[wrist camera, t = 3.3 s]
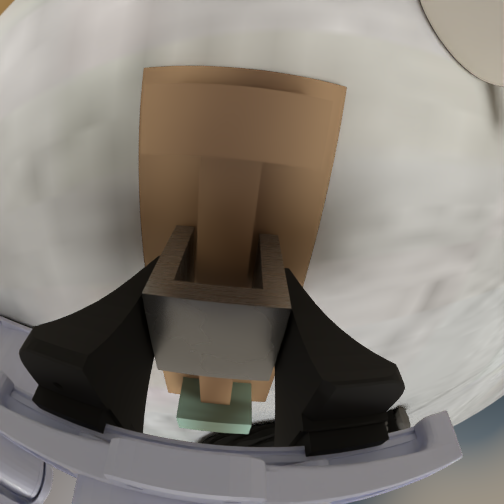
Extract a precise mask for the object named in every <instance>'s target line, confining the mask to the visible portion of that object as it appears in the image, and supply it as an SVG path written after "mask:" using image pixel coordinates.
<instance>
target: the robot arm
mask: <svg viewBox="0 0 504 504" xmlns="http://www.w3.org/2000/svg"><path fill="white" fill-rule="evenodd" d="M159 257H160V256H158V257H156V258H155V259H154V260H153V261H151V262H150V263H149V264H148V265H147V266H146V267H144V268H143V269H142V270H141V271H139V272H138V273H137V274H136V275H135V276H133V277H132V278H131V279H129V280H128V281H127V282H125V283H124V284H123V285H121V286H120V287H119V288H117V289H116V290H115V291H113V292H112V293H110V294H109V295H107V296H105V297H104V298H102V299H100V300H99V301H97V302H95V303H93V304H91V305H89V306H87V307H85V308H83V309H82V310H80V311H77V312H75V313H73V314H71V315H68V316H66V317H63V318H60V319H58V320H55V321H52V322H48V323H45V324H42V325H38V326H34V327H33V329H32V328H29V327H26V326H24V325H21V324H19V323H16V322H14V321H11V320H9V319H6V318H4V317H2V316H0V504H43V502H44V501H45V499H46V498H47V497H48V495H49V493H50V491H51V488H52V482H53V467H55V468H57V469H58V470H61V471H62V472H65V473H67V474H69V475H71V476H73V477H75V478H77V481H76V485H75V490H74V496H73V500H72V504H346V503H350V502H354V501H359V500H362V499H366V498H370V497H373V496H376V495H380V494H383V493H386V492H389V491H392V490H395V489H398V488H400V487H403V486H406V485H408V484H411V483H413V482H416V481H418V480H421V479H423V478H425V477H428V476H430V475H431V474H434V473H436V472H438V471H440V470H441V469H443V468H445V467H447V466H449V465H450V464H452V463H454V462H456V461H457V460H459V459H461V458H462V456H463V455H462V452H461V449H460V446H459V443H458V440H457V437H456V434H455V431H454V428H453V425H452V423H451V420H450V417H449V415H448V412H447V411H442V412H439V413H436V414H433V415H430V416H427V417H425V418H423V419H422V420H420V421H419V422H418V423H417V424H416V425H415V426H414V427H411V428H407V429H403V430H399V431H396V432H391V433H388V431H387V428H386V424H385V422H386V421H388V415H387V412H386V411H387V410H388V409H389V408H390V407H391V406H392V405H393V404H394V403H395V402H396V401H397V400H398V399H399V398H400V397H401V395H402V394H403V392H404V389H405V386H404V382H403V380H402V377H401V375H400V372H399V370H398V368H397V366H396V364H394V363H392V362H390V361H388V360H386V359H384V358H383V357H381V356H379V355H377V354H375V353H374V352H372V351H370V350H369V349H367V348H366V347H364V346H363V345H361V344H360V343H358V342H357V341H355V340H354V339H353V338H351V337H350V336H349V335H348V334H346V333H345V332H344V331H343V330H341V329H340V328H339V327H338V326H337V325H336V324H335V323H334V322H333V321H332V320H330V319H329V318H328V317H327V316H326V315H325V314H324V313H323V311H322V310H321V309H320V308H319V307H318V306H317V305H316V304H315V302H314V301H313V300H312V299H311V298H310V296H309V295H308V294H307V292H306V291H305V290H304V288H303V287H302V286H301V284H300V283H299V282H298V280H297V279H296V277H295V276H294V274H293V273H292V272H291V270H290V269H289V268H284V269H285V275H286V280H287V286H288V291H289V297H290V303H291V308H292V309H291V312H290V316H289V319H288V323H287V326H286V329H285V333H284V336H283V339H282V342H281V346H280V349H279V352H278V355H277V358H276V362H275V365H274V369H275V437H274V447H239V446H223V445H211V444H202V443H194V442H187V441H180V440H174V439H168V438H163V437H157V436H153V435H148V434H143V424H144V413H145V405H146V398H147V391H148V385H149V380H150V374H151V369H152V364H153V360H154V352H153V347H152V343H151V338H150V334H149V329H148V324H147V319H146V314H145V308H144V303H143V297H142V292H143V290H144V288H145V286H146V284H147V282H148V279H149V277H150V275H151V273H152V271H153V269H154V267H155V265H156V263H157V261H158V259H159ZM52 466H53V467H52Z"/></svg>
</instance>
